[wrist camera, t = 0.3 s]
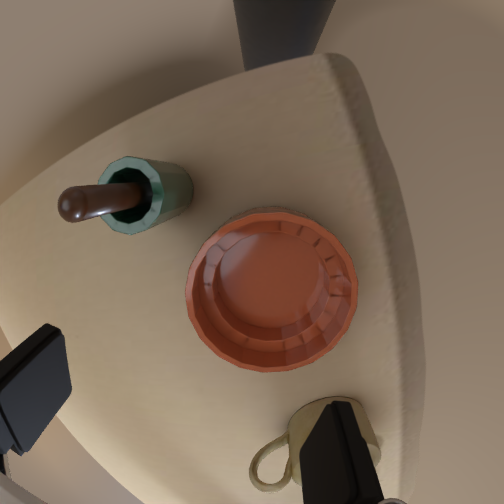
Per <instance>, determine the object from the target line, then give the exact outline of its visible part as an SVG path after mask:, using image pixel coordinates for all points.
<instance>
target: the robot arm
mask: <svg viewBox="0 0 504 504" xmlns="http://www.w3.org/2000/svg"><path fill="white" fill-rule="evenodd" d="M71 391H72V386H71V380H70V374H69V368H68V362H67V354H66V347H65V338H64V335H63V334H62V332H61V330H60V329H59V328H57V327H55V326H52V325H50V324H48V323H46V324H44V325H43V326H42V327H40V328H39V329H38V330H37V331H35V332H34V333H33V334H32V335H31V336H29V337H28V338H27V339H26V340H24V341H23V342H22V343H21V344H20V345H18V346H17V347H16V348H15V349H14V350H13V351H11V352H10V353H9V354H8V355H7V356H6V357H5V358H3V359H2V360H1V361H0V504H47V503H46V502H44V501H42V500H41V499H39V498H38V497H36V496H34V495H33V494H31V493H30V492H28V491H27V490H25V489H24V488H22V487H20V486H19V485H18V484H16V483H15V482H14V481H12V479H11V474H10V469H9V463H8V457H7V451H8V450H9V449H11V450H13V451H14V452H15V453H17V454H18V455H20V456H22V455H23V453H24V452H28V451H29V450H30V449H31V448H32V446H33V445H34V443H35V442H36V440H37V439H38V438H39V436H40V435H41V433H42V432H43V431H44V429H45V428H46V427H47V425H48V424H49V422H50V421H51V420H52V419H53V417H54V416H55V414H56V413H57V412H58V410H59V409H60V408H61V406H62V405H63V404H64V402H65V401H66V400H67V399H68V397H69V396H70V394H71ZM299 461H300V471H301V481H302V491H303V502H304V504H407V503H405V502H403V501H402V500H399V499H396V498H388V499H384V496H383V493H382V490H381V486H380V483H379V480H378V477H377V473H376V470H375V467H374V464H373V461H372V458H371V455H370V451H369V448H368V445H367V442H366V440H365V439H364V438H363V437H362V435H361V432H360V429H359V426H358V423H357V420H356V417H355V414H354V411H353V408H352V405H351V403H350V402H348V401H336V400H334V401H332V402H331V404H327V405H326V406H325V408H324V410H323V411H322V413H321V415H320V417H319V418H318V420H317V422H316V424H315V425H314V427H313V429H312V431H311V432H310V434H309V436H308V437H307V439H306V441H305V442H304V444H303V445H302V447H301V449H300V452H299Z"/></svg>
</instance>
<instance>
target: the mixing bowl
mask: <svg viewBox="0 0 504 504" xmlns="http://www.w3.org/2000/svg"><path fill="white" fill-rule="evenodd" d="M357 295H358V280H357V276H356V273H355V269H354V266H353V263H352V259H351V257H350V256H349V254H348V253H347V251H346V250H345V249H344V247H343V246H342V244H341V243H340V242H339V240H338V239H337V238H336V236H335V235H333V234H332V233H331V232H329V231H328V230H327V229H325V228H324V227H323V226H321V225H320V224H319V223H317V222H316V221H314V220H313V219H311V218H310V217H308V216H307V215H305V214H304V213H301V212H298V211H294V210H291V209H287V208H283V207H261V208H253V209H250V210H248V211H245V212H243V213H240V214H238V215H235V216H233V217H231V218H230V219H229V220H228V221H226V222H225V223H224V224H223V225H222V226H220V227H219V228H218V229H217V230H216V231H215V232H214V233H213V234H212V235H211V236H210V237H209V238H208V239H207V240H206V241H205V242H204V244H203V245H202V247H201V248H200V250H199V252H198V254H197V255H196V257H195V259H194V260H193V262H192V264H191V266H190V268H189V273H188V278H187V283H186V289H185V297H186V303H187V310H188V316H189V319H190V320H191V322H192V324H193V326H194V328H195V330H196V332H197V334H198V336H199V338H200V339H201V340H202V341H203V342H204V343H205V344H206V345H207V346H208V347H209V348H210V349H211V350H212V351H213V352H214V353H215V354H216V355H217V356H219V357H220V358H222V359H224V360H226V361H228V362H230V363H232V364H234V365H236V366H238V367H240V368H244V369H249V370H254V371H258V372H280V371H289V370H293V369H296V368H299V367H302V366H305V365H308V364H310V363H312V362H314V361H315V360H317V359H318V358H320V357H321V356H323V355H324V354H326V353H327V352H329V351H330V350H331V349H332V348H333V347H334V346H335V345H336V344H337V342H338V341H339V340H340V339H341V338H342V336H343V335H344V334H345V333H346V332H347V330H348V328H349V325H350V323H351V320H352V318H353V316H354V313H355V311H356V307H357Z"/></svg>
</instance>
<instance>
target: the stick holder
mask: <svg viewBox="0 0 504 504" xmlns="http://www.w3.org/2000/svg"><path fill="white" fill-rule="evenodd" d="M134 182H150V184H151V187H152V191H153V198H152V203H150V204H146V205H142V206H137V207H133V208H129V209H125V210H121V211H117V212H113V213H109V214H106V215H102V216H100V217H101V218H102V219H103V220H104V221H105V222H106V223H107V224H108V225H109V227H110V228H111V229H112V230H114V231H117V232H121V233H124V234H128V235H133V234H136V233H139V232H142V231H145V230H148V229H150V228H152V227H154V226H156V225H159V224H161V223H163V222H165V221H167V220H170V219H172V218H174V217H176V216H179V215H180V214H181V213H182V212H184V211H185V210H186V208H187V207H188V206H189V204H190V202H191V200H192V196H193V184H192V180H191V178H190V176H189V174H188V173H187V172H186V171H185V170H184V169H183V168H182V167H180V166H179V165H177V164H172V163H167V162H162V161H156V160H150V159H143V158H137V157H130V156H126V157H123V158H121V159H119V160H117V161H114V162H112V163H110V164H109V166H108V167H107V168H106V170H105V171H104V173H103V174H102V175H101V177H100V178H99V180H98V185H99V184H115V183H134Z"/></svg>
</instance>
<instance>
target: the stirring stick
mask: <svg viewBox="0 0 504 504" xmlns="http://www.w3.org/2000/svg"><path fill="white" fill-rule="evenodd" d="M152 198H153V191H152V187H151V184H150V182H134V183H115V184H99V185H86V186H74V187H70V188H67V189H66V190H65V191H63V192H62V194H61V195H60V197H59V200H58V211H59V214H60V216H61V217H62V218H63V219H64V220H66V221H68V222H71V223H76V222H80V221H83V220H87V219H91V218H94V217H98V216H102V215H106V214H109V213H113V212H117V211H121V210H125V209H129V208H133V207H137V206H142V205H146V204H150V203H152Z"/></svg>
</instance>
